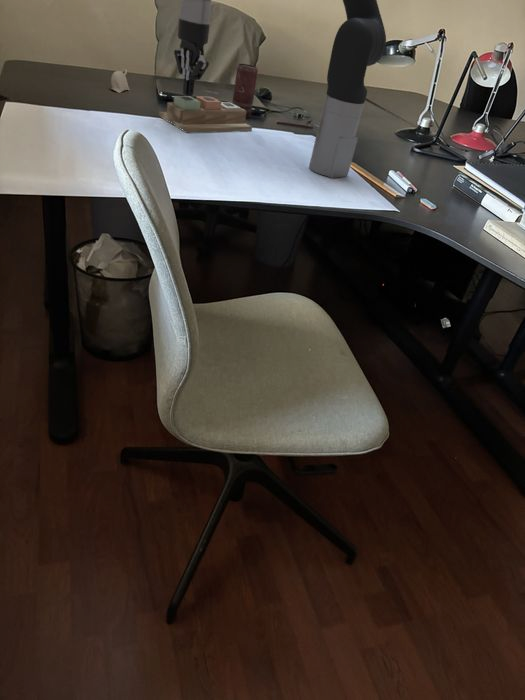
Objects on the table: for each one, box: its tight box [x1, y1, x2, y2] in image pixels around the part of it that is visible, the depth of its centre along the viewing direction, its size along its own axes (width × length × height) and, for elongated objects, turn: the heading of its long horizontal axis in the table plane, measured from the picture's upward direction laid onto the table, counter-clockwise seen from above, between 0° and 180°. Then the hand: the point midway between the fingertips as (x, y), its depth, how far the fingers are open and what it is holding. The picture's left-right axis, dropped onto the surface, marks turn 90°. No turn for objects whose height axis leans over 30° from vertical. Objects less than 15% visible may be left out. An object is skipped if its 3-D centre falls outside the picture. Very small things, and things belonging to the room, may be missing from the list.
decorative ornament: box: [110, 68, 130, 94], centre depth 157 cm, size 4×8×5 cm, turn 163°
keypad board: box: [158, 101, 253, 133], centre depth 145 cm, size 14×22×4 cm, turn 130°
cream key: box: [221, 101, 241, 110], centre depth 148 cm, size 5×5×3 cm
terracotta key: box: [195, 95, 223, 110], centre depth 143 cm, size 5×5×3 cm
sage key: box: [173, 95, 200, 110], centre depth 139 cm, size 5×5×3 cm
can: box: [231, 63, 259, 120], centre depth 156 cm, size 6×6×14 cm
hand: (187, 95), depth 137 cm, fingers closed
